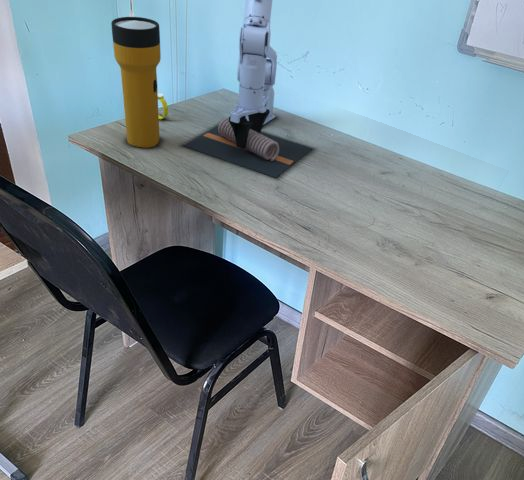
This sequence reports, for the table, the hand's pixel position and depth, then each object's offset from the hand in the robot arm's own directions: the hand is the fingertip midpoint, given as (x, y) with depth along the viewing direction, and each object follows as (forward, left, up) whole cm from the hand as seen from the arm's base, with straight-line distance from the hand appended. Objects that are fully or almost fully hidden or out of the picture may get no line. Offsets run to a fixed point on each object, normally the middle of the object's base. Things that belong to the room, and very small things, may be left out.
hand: (247, 143), depth 132 cm
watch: (-1, -28, -2) cm, 28 cm away
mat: (-1, 0, -2) cm, 2 cm away
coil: (0, 0, -2) cm, 2 cm away
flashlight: (+13, -22, -2) cm, 26 cm away
